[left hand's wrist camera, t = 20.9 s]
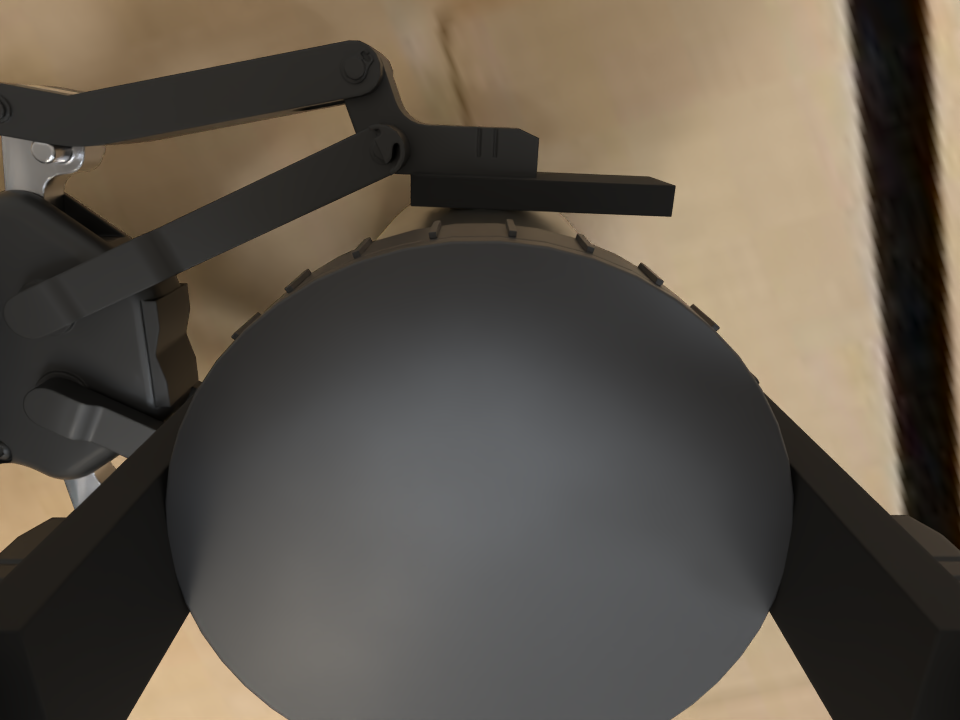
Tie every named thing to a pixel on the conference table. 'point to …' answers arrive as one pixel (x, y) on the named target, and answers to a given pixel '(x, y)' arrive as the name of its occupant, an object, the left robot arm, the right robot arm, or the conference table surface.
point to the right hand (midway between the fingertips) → (637, 360)
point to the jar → (475, 219)
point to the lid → (479, 488)
